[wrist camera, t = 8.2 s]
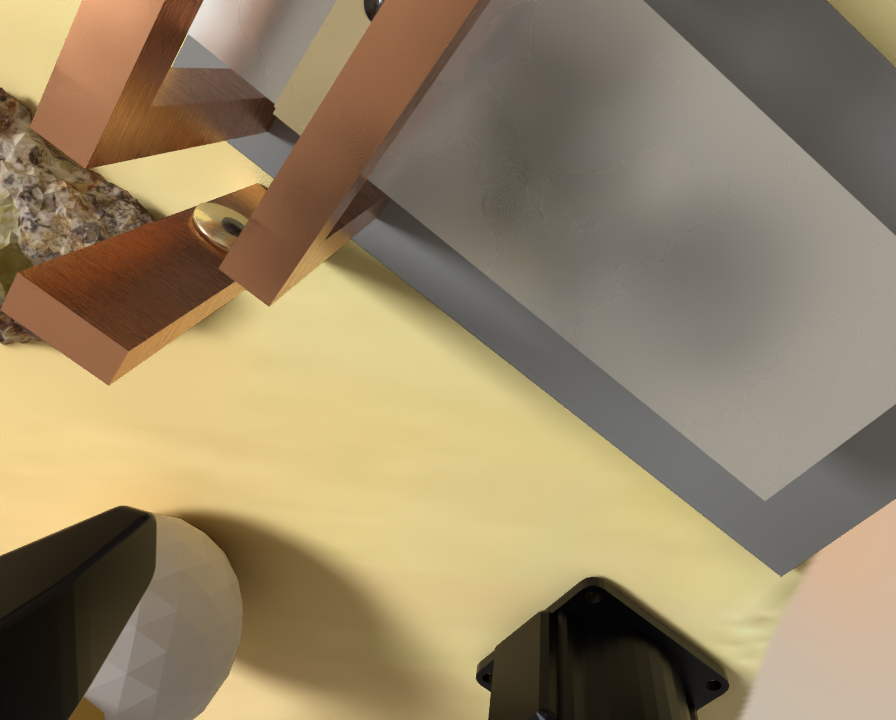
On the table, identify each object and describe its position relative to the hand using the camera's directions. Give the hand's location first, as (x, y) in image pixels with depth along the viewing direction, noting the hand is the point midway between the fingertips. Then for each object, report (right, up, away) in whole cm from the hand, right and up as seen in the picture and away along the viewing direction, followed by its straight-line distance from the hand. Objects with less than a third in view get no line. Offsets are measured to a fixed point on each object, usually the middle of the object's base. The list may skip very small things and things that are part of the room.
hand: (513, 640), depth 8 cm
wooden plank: (-6, +7, +11) cm, 14 cm away
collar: (0, +11, +8) cm, 14 cm away
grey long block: (+2, +9, +8) cm, 12 cm away
